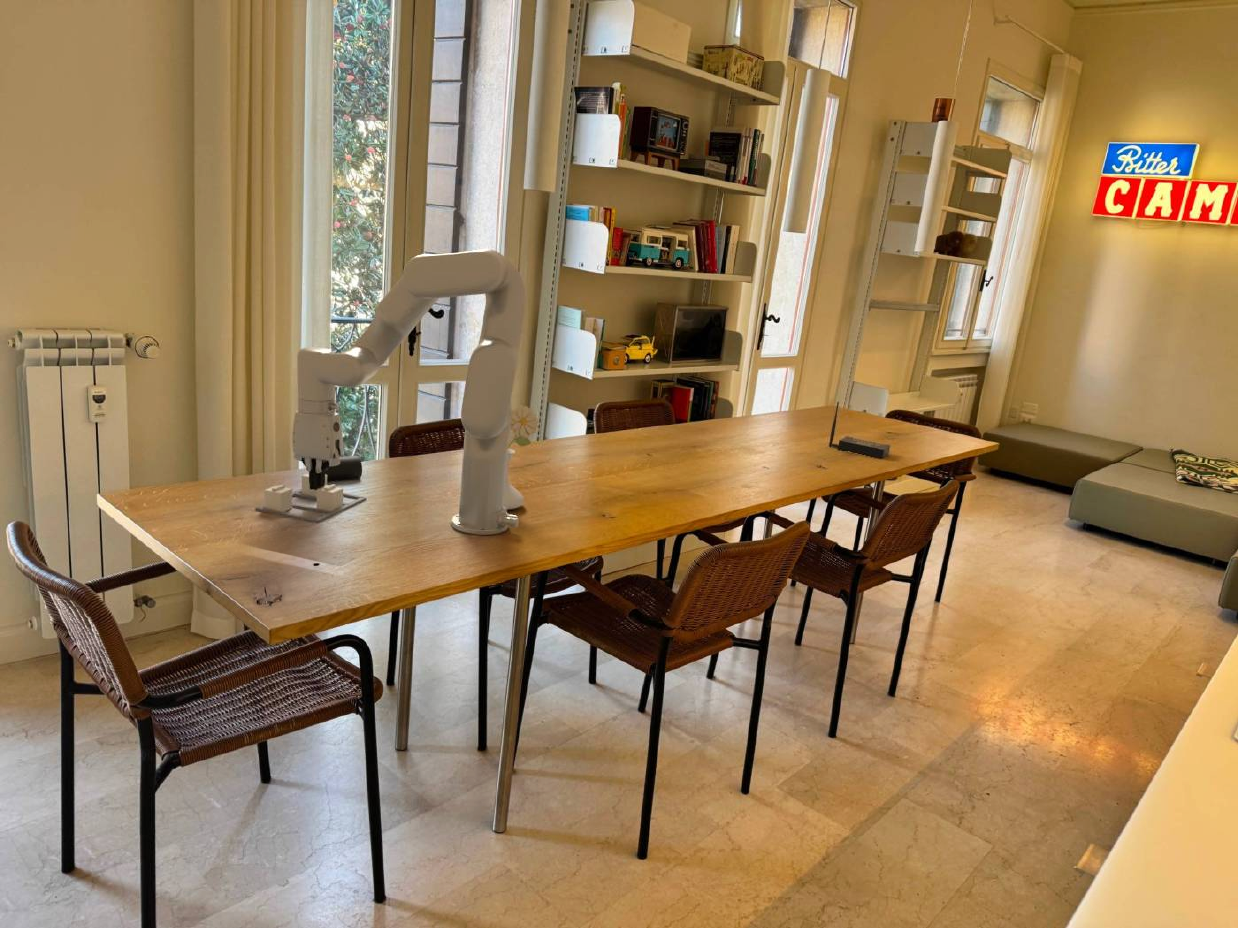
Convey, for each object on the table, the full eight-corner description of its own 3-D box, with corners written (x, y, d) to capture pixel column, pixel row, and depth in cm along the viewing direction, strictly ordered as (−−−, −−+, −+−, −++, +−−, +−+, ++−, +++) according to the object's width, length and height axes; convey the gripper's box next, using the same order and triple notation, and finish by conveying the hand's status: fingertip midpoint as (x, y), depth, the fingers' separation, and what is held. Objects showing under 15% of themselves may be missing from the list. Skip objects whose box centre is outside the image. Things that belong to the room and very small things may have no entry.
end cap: (322, 489, 206) (322, 462, 205) (310, 481, 212) (311, 454, 210) (362, 485, 213) (363, 458, 211) (349, 477, 218) (350, 451, 216)
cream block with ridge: (342, 507, 192) (343, 485, 191) (332, 512, 188) (333, 490, 187) (326, 504, 193) (327, 482, 192) (316, 508, 189) (316, 486, 188)
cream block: (291, 508, 188) (292, 486, 186) (280, 513, 184) (281, 490, 183) (275, 504, 189) (275, 482, 187) (264, 509, 185) (264, 487, 184)
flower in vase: (479, 513, 202) (486, 408, 196) (473, 498, 213) (481, 397, 206) (534, 514, 206) (543, 411, 200) (526, 499, 217) (535, 401, 210)
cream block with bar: (326, 493, 200) (327, 472, 199) (316, 497, 196) (317, 476, 195) (311, 490, 201) (311, 469, 200) (301, 494, 197) (301, 473, 196)
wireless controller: (889, 454, 317) (898, 408, 312) (881, 461, 305) (890, 413, 300) (835, 443, 325) (843, 398, 321) (825, 449, 313) (833, 402, 309)
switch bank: (368, 505, 199) (368, 497, 198) (319, 529, 181) (319, 521, 181) (291, 489, 204) (291, 482, 203) (236, 511, 186) (236, 503, 185)
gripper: (357, 407, 188) (356, 489, 192) (296, 398, 191) (297, 479, 196) (337, 413, 181) (337, 498, 185) (275, 404, 184) (276, 487, 189)
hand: (317, 488), depth 191 cm, fingers closed
